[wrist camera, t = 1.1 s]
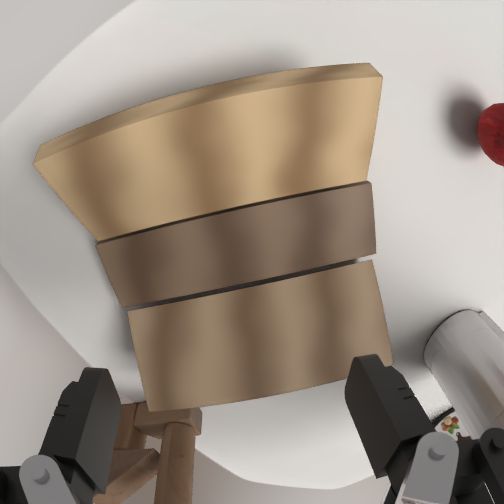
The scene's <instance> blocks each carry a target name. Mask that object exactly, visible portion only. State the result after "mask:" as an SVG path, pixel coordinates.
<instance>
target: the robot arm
mask: <svg viewBox="0 0 504 504" xmlns="http://www.w3.org/2000/svg"><path fill="white" fill-rule="evenodd" d="M424 360H425V363H426V364H427V366H428V367H429V369H430V371H431V373H432V374H433V375H434V377H435V379H436V380H437V382H438V383H439V385H440V387H441V388H442V390H443V392H444V393H445V395H446V396H447V398H448V400H449V401H450V403H451V405H452V406H453V408H454V410H455V411H456V413H457V415H458V416H459V418H460V420H461V421H462V423H463V425H464V427H465V428H466V430H467V432H468V434H469V435H470V437H471V439H472V440H462V441H455V440H454V439H453V438H452V437H451V436H449V435H448V434H446V433H442V432H437V431H436V430H435V428H434V427H433V425H432V423H431V421H430V420H429V418H428V416H427V415H426V413H425V411H424V410H423V408H422V406H421V405H420V403H419V401H418V400H417V398H416V397H415V396H414V393H413V391H412V390H411V388H409V385H408V383H407V382H406V380H405V378H404V377H403V375H402V374H401V373H399V372H398V371H397V370H396V369H394V368H393V367H392V366H387V367H385V366H384V364H383V363H382V361H381V359H380V358H379V356H378V355H377V354H370V355H364V356H357V357H354V358H353V360H352V363H351V367H350V371H349V375H348V379H347V382H346V386H345V400H346V404H347V406H348V409H349V411H350V414H351V416H352V419H353V421H354V424H355V426H356V428H357V431H358V433H359V436H360V438H361V441H362V443H363V446H364V448H365V451H366V453H367V456H368V458H369V461H370V463H371V466H372V469H373V471H374V474H375V476H376V479H377V478H380V477H384V476H387V475H388V477H389V480H390V483H389V485H388V487H387V489H386V492H385V494H384V497H383V499H382V502H381V504H494V503H493V501H492V499H491V496H492V498H493V500H494V502H495V504H504V332H503V331H502V330H501V329H500V327H499V326H498V325H497V324H496V323H495V322H494V321H493V320H492V319H491V318H490V317H489V316H488V315H487V314H486V313H485V312H484V311H483V312H481V313H477V312H475V311H473V310H465V311H461V312H459V313H456V314H455V315H453V316H451V317H450V318H448V319H447V320H446V321H444V322H443V323H442V324H441V325H440V326H439V327H438V328H437V329H436V331H435V332H434V333H433V334H432V336H431V338H430V339H429V341H428V343H427V345H426V348H425V351H424ZM120 417H121V403H120V398H119V396H118V393H117V391H116V388H115V386H114V383H113V380H112V378H111V375H110V373H109V371H108V369H105V368H89V367H86V368H84V370H83V372H82V374H81V377H80V379H79V382H74V381H72V382H71V383H70V384H69V385H68V386H67V387H66V389H64V391H63V392H62V394H61V397H60V399H59V401H58V406H57V407H56V409H55V411H54V416H53V417H52V419H51V422H50V424H49V427H48V430H47V433H46V435H45V438H44V441H43V444H42V447H41V449H40V452H39V454H38V455H35V456H32V457H30V458H28V459H27V460H25V461H24V463H23V464H22V466H10V467H0V504H94V503H93V502H92V501H93V495H94V493H98V494H104V495H105V493H106V487H107V481H108V476H109V470H110V465H111V460H112V454H113V449H114V444H115V440H116V435H117V430H118V426H119V421H120ZM485 483H486V485H487V487H488V489H489V492H490V494H491V496H490V494H489V492H488V490H487V488H486V485H485Z"/></svg>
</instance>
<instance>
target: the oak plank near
mask: <svg viewBox="0 0 504 504" xmlns="http://www.w3.org/2000/svg"><path fill="white" fill-rule="evenodd" d="M382 80H383V76H382V75H381V74H380V73H379V72H378V71H377V70H376V69H375V68H374V67H373V66H372V65H371V64H370V63H356V64H341V65H329V66H319V67H310V68H302V69H294V70H287V71H280V72H274V73H268V74H262V75H256V76H251V77H246V78H240V79H236V80H231V81H226V82H222V83H217V84H213V85H209V86H205V87H201V88H197V89H193V90H189V91H185V92H182V93H178V94H174V95H171V96H167V97H164V98H161V99H157V100H154V101H151V102H148V103H145V104H142V105H139V106H136V107H133V108H130V109H127V110H124V111H121V112H118V113H116V114H113V115H110V116H108V117H105V118H102V119H100V120H97V121H95V122H92V123H90V124H87V125H85V126H82V127H80V128H78V129H75V130H73V131H71V132H68V133H66V134H64V135H62V136H59V137H57V138H55V139H53V140H51V141H49V142H46V143H44V144H42V145H40V147H39V150H38V152H37V155H36V157H35V159H34V162H33V165H34V167H35V168H36V169H37V170H38V172H39V173H40V174H41V175H42V177H43V178H44V179H45V180H46V182H47V183H48V184H49V185H50V187H51V188H52V189H53V190H54V191H55V193H56V194H57V195H58V196H59V197H60V199H61V200H62V201H63V202H64V203H65V204H66V206H67V207H68V208H69V209H70V210H71V211H72V213H73V214H74V215H75V216H76V217H77V218H78V220H79V221H80V222H81V223H82V224H83V225H84V226H85V227H86V229H87V230H88V231H89V232H90V233H91V234H92V235H93V236H94V237H95V238H96V240H97V241H100V240H104V239H108V238H111V237H115V236H119V235H123V234H126V233H130V232H134V231H138V230H142V229H146V228H149V227H153V226H157V225H161V224H165V223H169V222H173V221H177V220H181V219H186V218H190V217H194V216H198V215H202V214H207V213H211V212H215V211H219V210H224V209H228V208H233V207H237V206H242V205H246V204H251V203H255V202H260V201H265V200H269V199H274V198H279V197H284V196H289V195H293V194H298V193H303V192H308V191H313V190H319V189H324V188H329V187H334V186H340V185H345V184H351V183H356V182H362V181H366V179H367V174H368V169H369V164H370V158H371V153H372V147H373V141H374V135H375V129H376V123H377V117H378V110H379V103H380V96H381V88H382Z"/></svg>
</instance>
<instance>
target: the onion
mask: <svg viewBox="0 0 504 504" xmlns="http://www.w3.org/2000/svg"><path fill="white" fill-rule="evenodd" d="M477 131H478V140H479V142H480V145H481V147H482V149H483V151H484V152H485V154H486V155H487V156H488V157H489V158H490V159H491V160H492V161H494V162H495V163H496V164H499V165H501V166H504V103H498V104H493V105H492V106H490V107H488V108H487V109H486V110H484V112H483V113H482V115H481V116H480V118H479V122H478V127H477Z"/></svg>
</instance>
